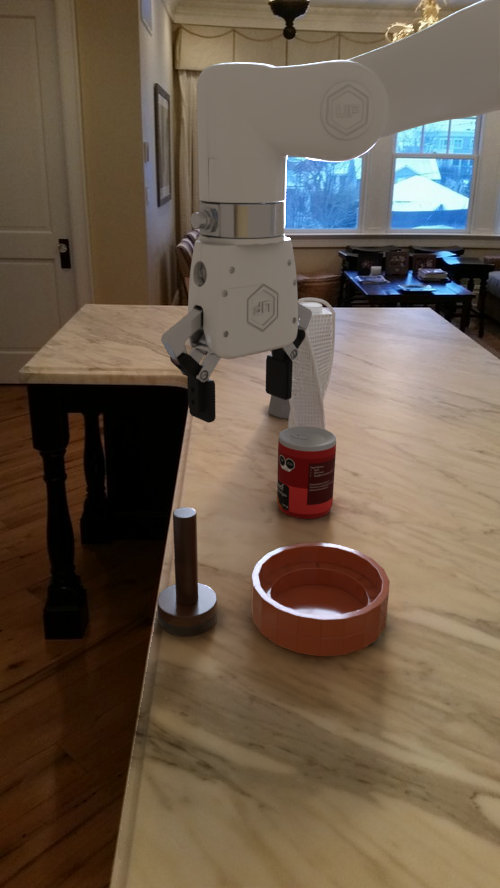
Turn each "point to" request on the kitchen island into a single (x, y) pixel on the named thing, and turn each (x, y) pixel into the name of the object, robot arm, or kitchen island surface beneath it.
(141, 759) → the kitchen island surface
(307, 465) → the canned food
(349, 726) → the kitchen island surface
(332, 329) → the skyscraper
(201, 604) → the brown coffee tamper
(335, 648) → the bowl
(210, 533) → the kitchen island surface
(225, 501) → the kitchen island surface
